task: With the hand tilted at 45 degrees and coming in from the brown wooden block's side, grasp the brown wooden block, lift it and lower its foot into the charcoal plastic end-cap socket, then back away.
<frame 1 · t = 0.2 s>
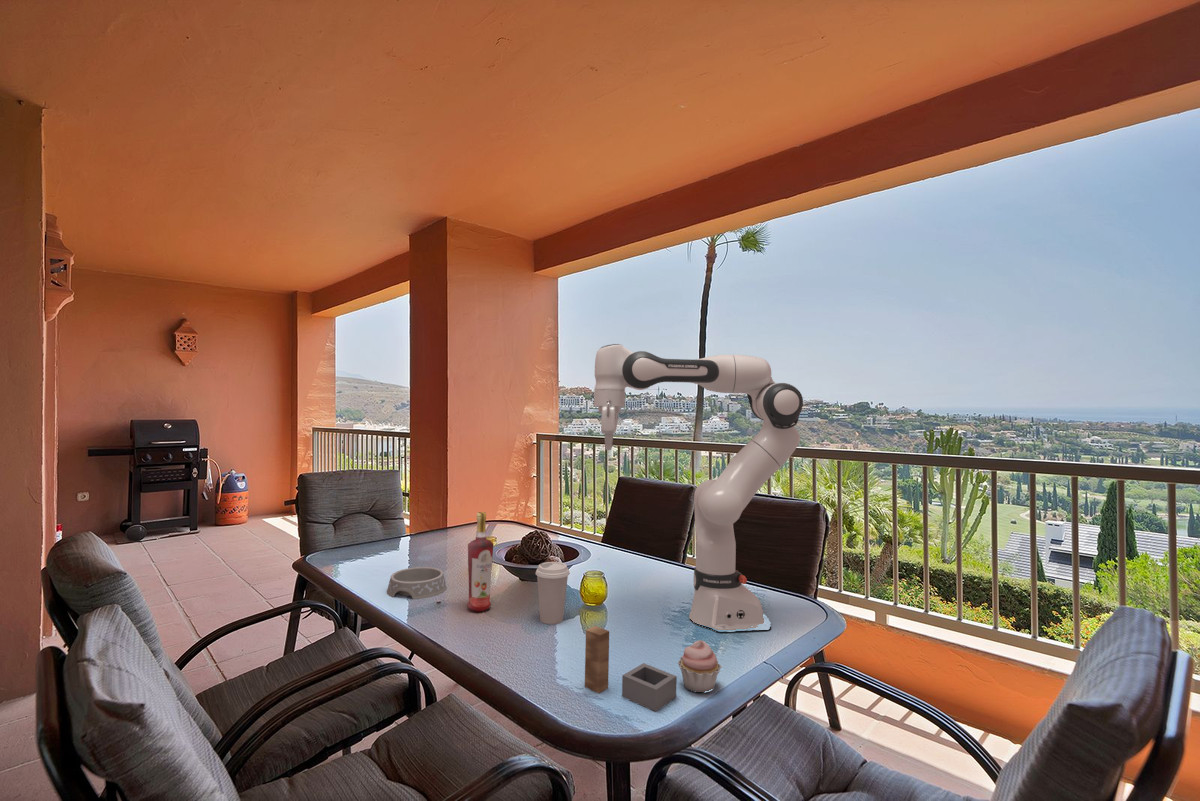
hand: (608, 449, 155), 48 cm above the table, tool pointing down, fingers open, 8 cm apart
coffee cup: (551, 620, 151), on the table
dog bowl: (416, 591, 174), on the table
cupcake: (699, 687, 116), on the table
end cap: (649, 696, 111), on the table
liquor: (479, 609, 158), on the table
brown wooden block: (596, 687, 115), on the table
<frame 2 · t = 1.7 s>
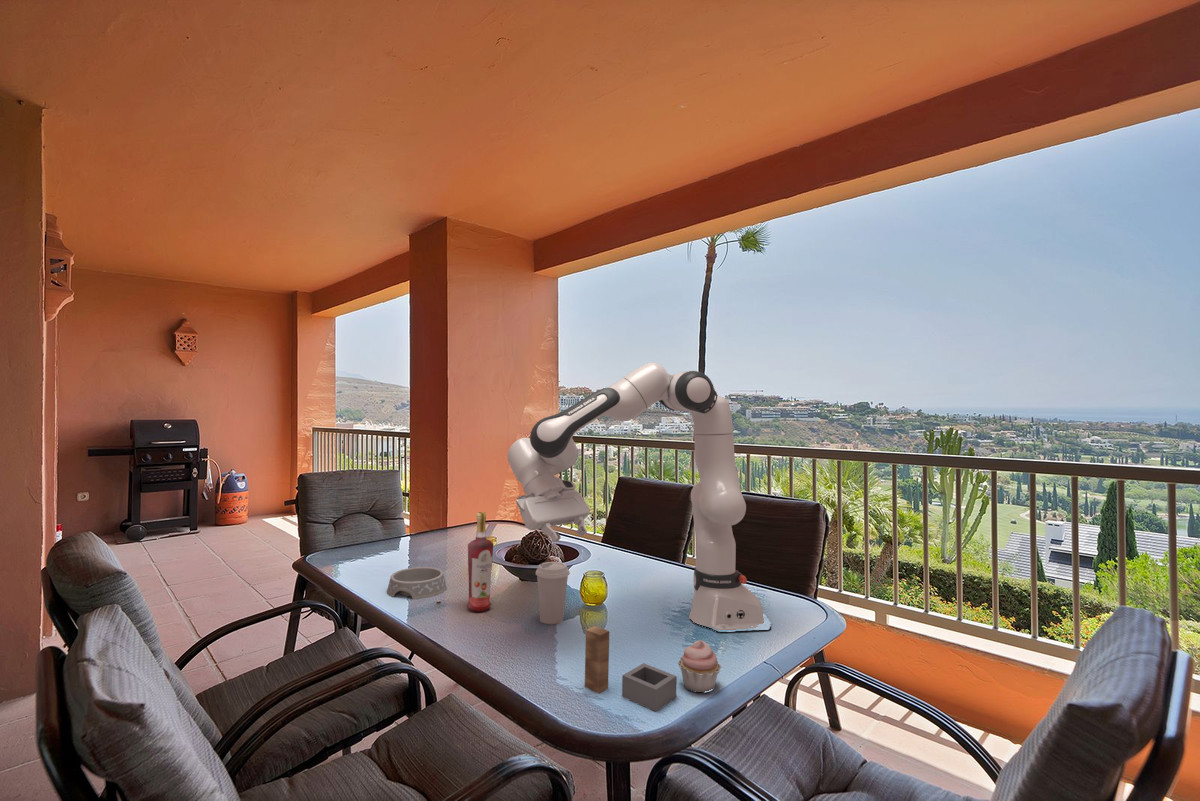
hand: (570, 537, 133), 27 cm above the table, tool tilted 45°, fingers open, 8 cm apart
nothing on the table moved.
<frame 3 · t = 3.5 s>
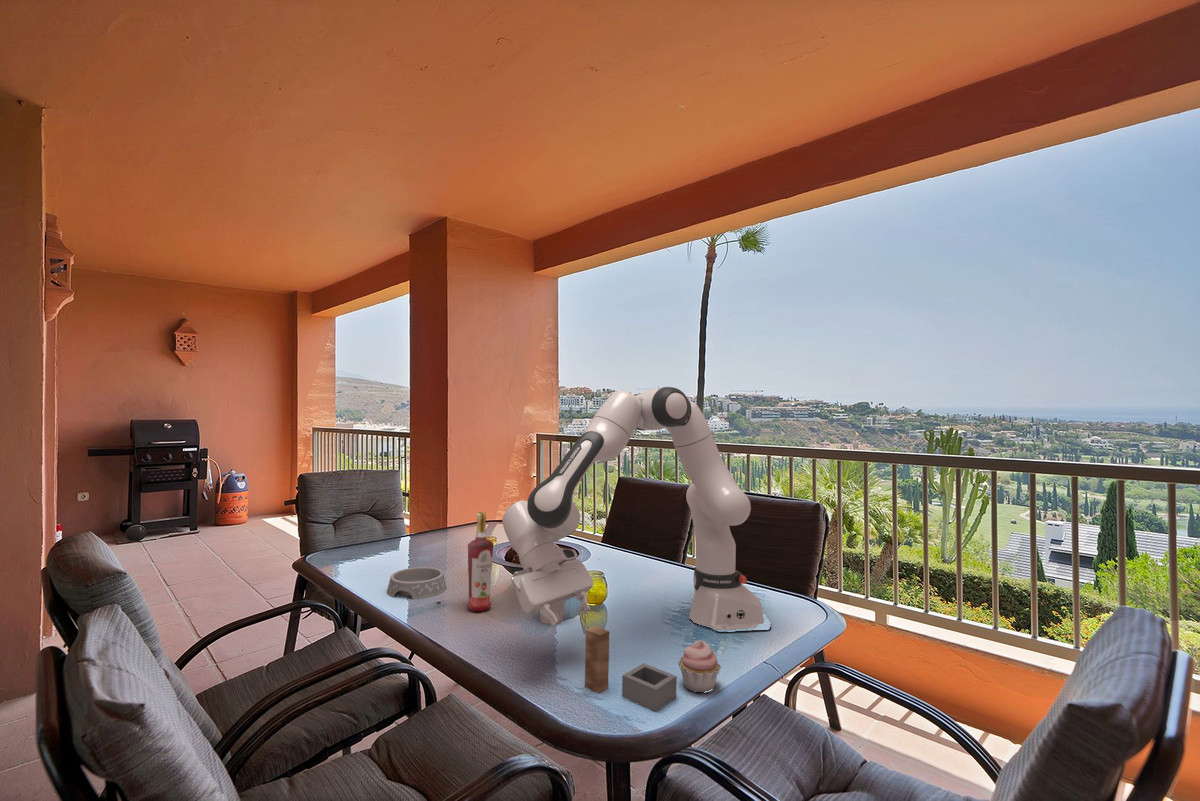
hand: (572, 617, 120), 13 cm above the table, tool tilted 45°, fingers open, 8 cm apart
nothing on the table moved.
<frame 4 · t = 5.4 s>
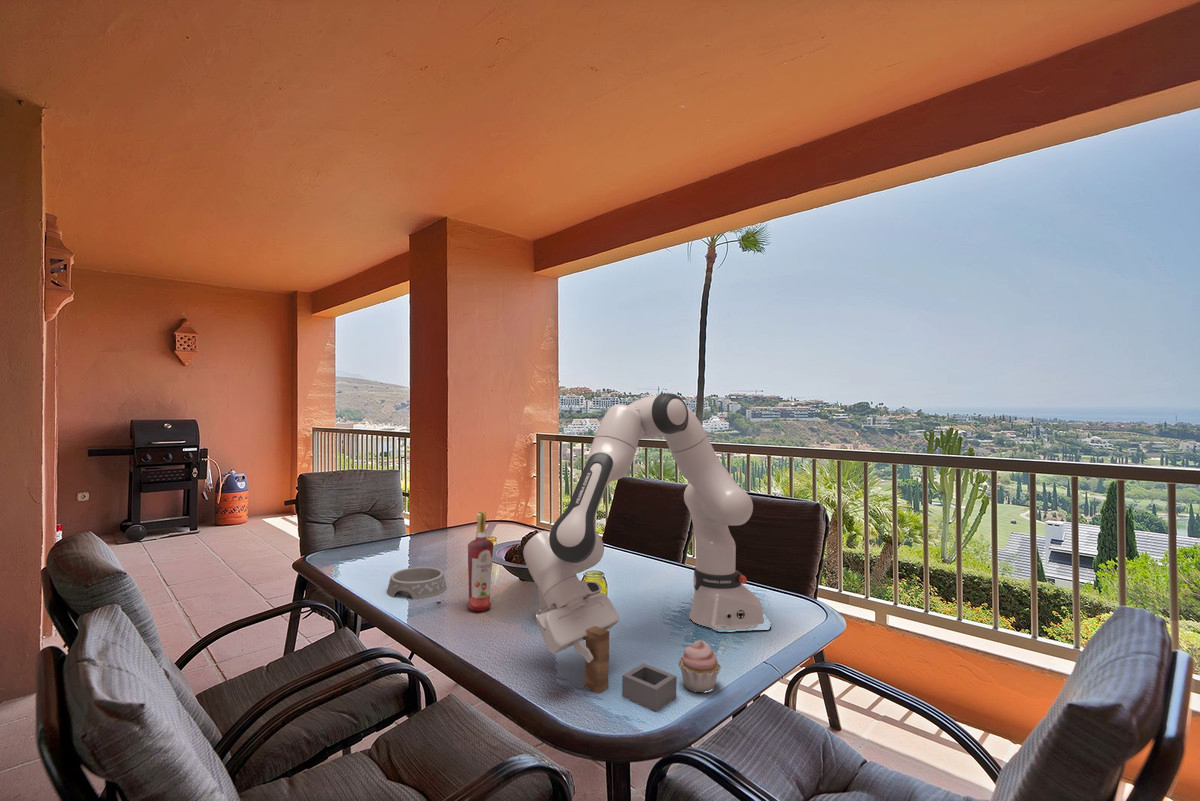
hand: (599, 656, 115), 7 cm above the table, tool tilted 45°, fingers closed on brown wooden block, 3 cm apart
brown wooden block: (596, 687, 115), on the table, touching gripper
everything else where it was.
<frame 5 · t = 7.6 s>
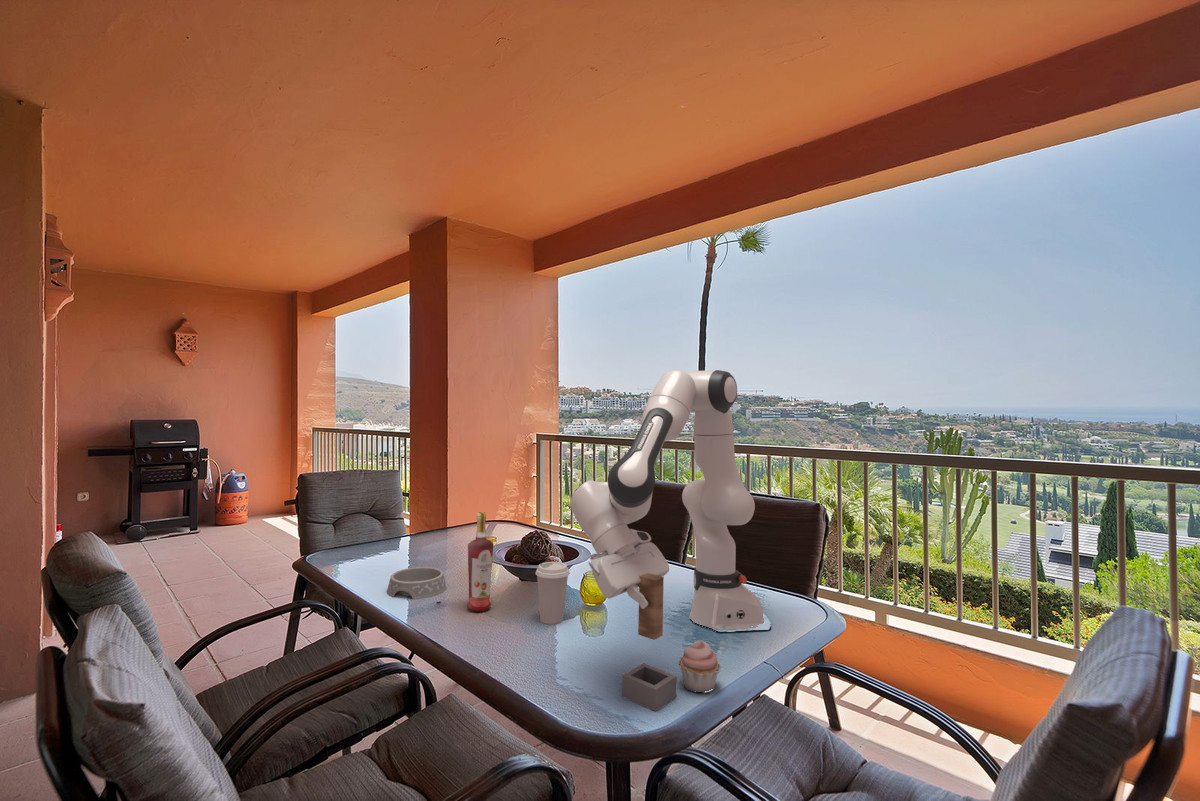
hand: (653, 603, 111), 19 cm above the table, tool tilted 45°, fingers closed on brown wooden block, 3 cm apart
brown wooden block: (650, 635, 112), point 13 cm above the table, touching gripper
everything else where it was.
when the fingers open (9 cm above the table, at t = 9.7 s): brown wooden block drops 1 cm, resting on end cap.
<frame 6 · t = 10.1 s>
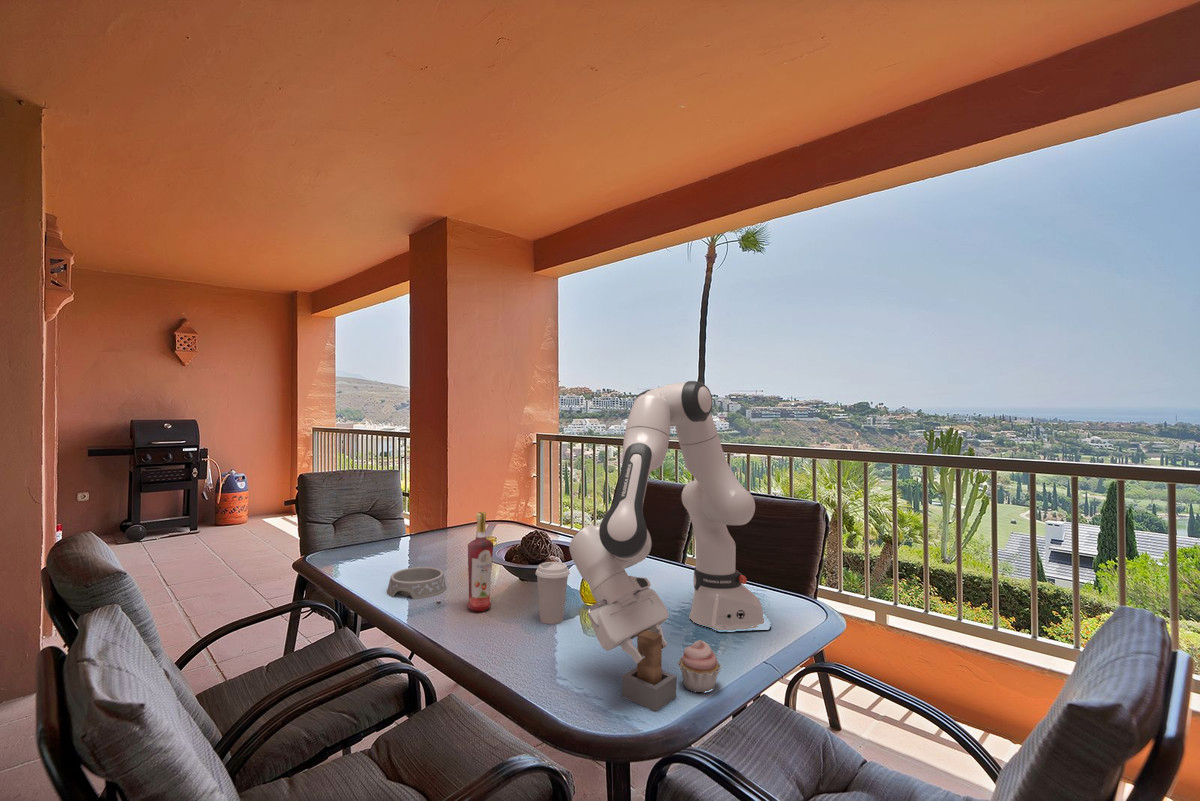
hand: (652, 654, 111), 9 cm above the table, tool tilted 45°, fingers open, 7 cm apart
brown wooden block: (649, 692, 111), point 1 cm above the table, touching end cap
everything else where it was.
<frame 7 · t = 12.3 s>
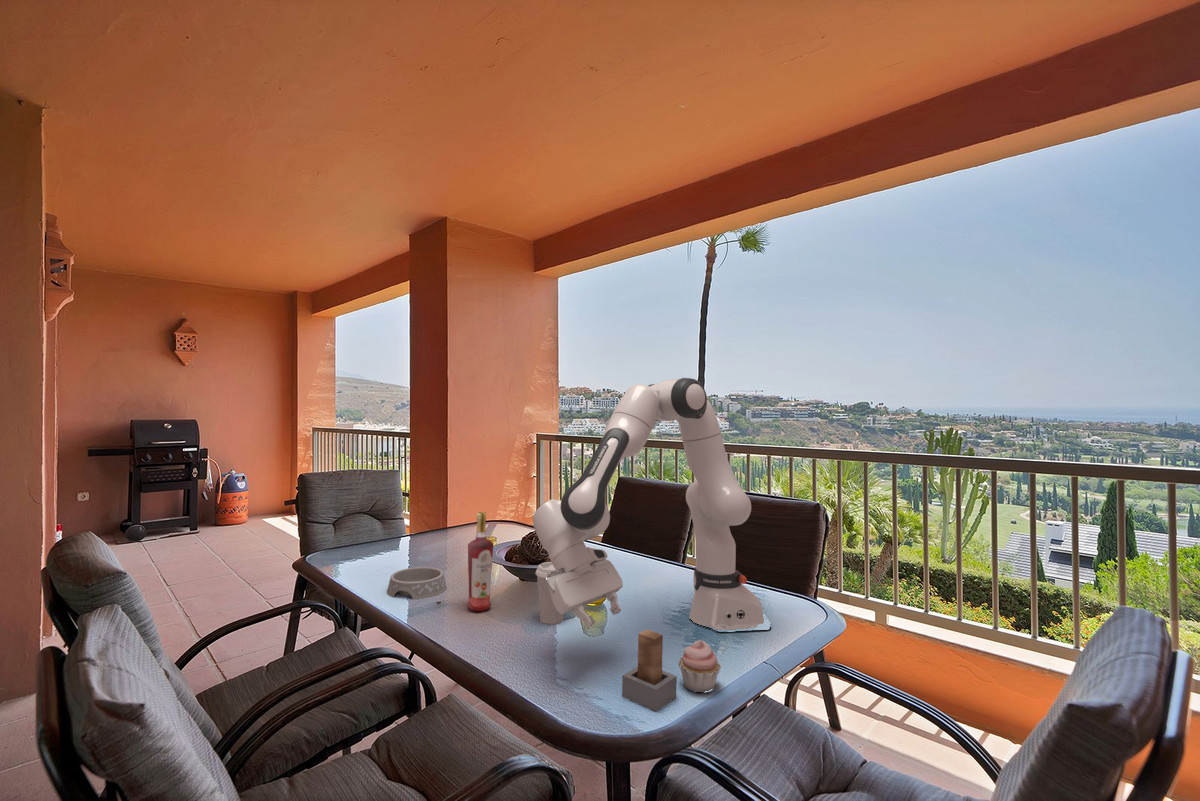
hand: (604, 619, 120), 12 cm above the table, tool tilted 40°, fingers open, 8 cm apart
nothing on the table moved.
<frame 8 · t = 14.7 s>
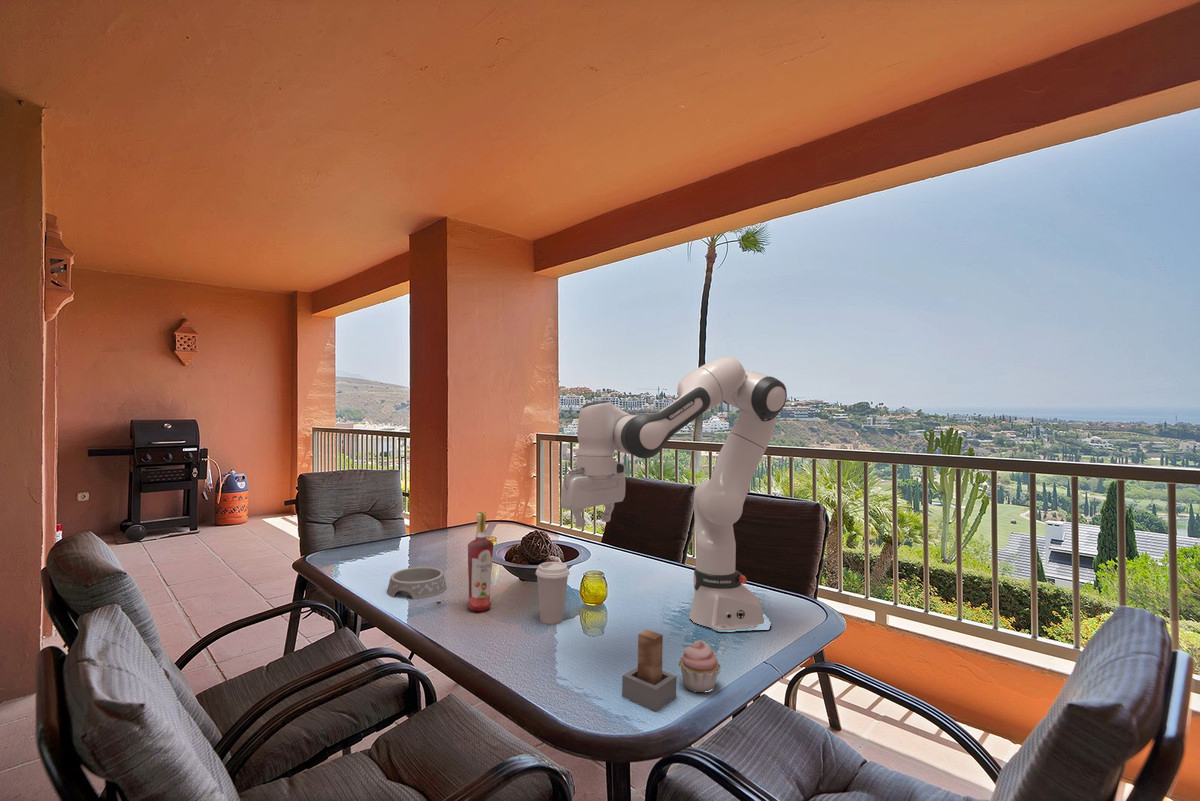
hand: (593, 524, 131), 31 cm above the table, tool pointing down, fingers open, 8 cm apart
nothing on the table moved.
at the end: brown wooden block 0.0 cm off-centre on the end cap, point 0.8 cm above the end cap's base; brown wooden block tilted 0°; the gripper is holding nothing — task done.
